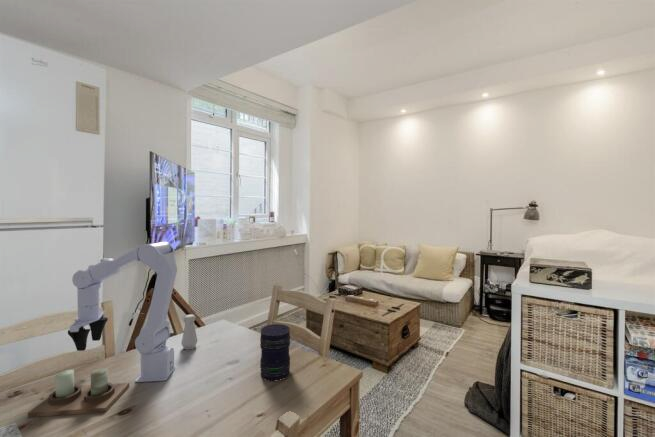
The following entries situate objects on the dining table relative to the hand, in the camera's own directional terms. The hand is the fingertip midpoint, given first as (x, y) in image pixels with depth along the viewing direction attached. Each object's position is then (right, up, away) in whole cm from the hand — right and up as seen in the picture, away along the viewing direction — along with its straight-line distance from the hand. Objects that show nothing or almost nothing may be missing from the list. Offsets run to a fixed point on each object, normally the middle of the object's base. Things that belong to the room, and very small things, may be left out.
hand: (89, 345), depth 102 cm
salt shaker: (+25, -9, +19) cm, 33 cm away
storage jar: (+62, -10, +1) cm, 63 cm away
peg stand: (+10, -10, -15) cm, 20 cm away
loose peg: (+5, -9, -15) cm, 18 cm away
